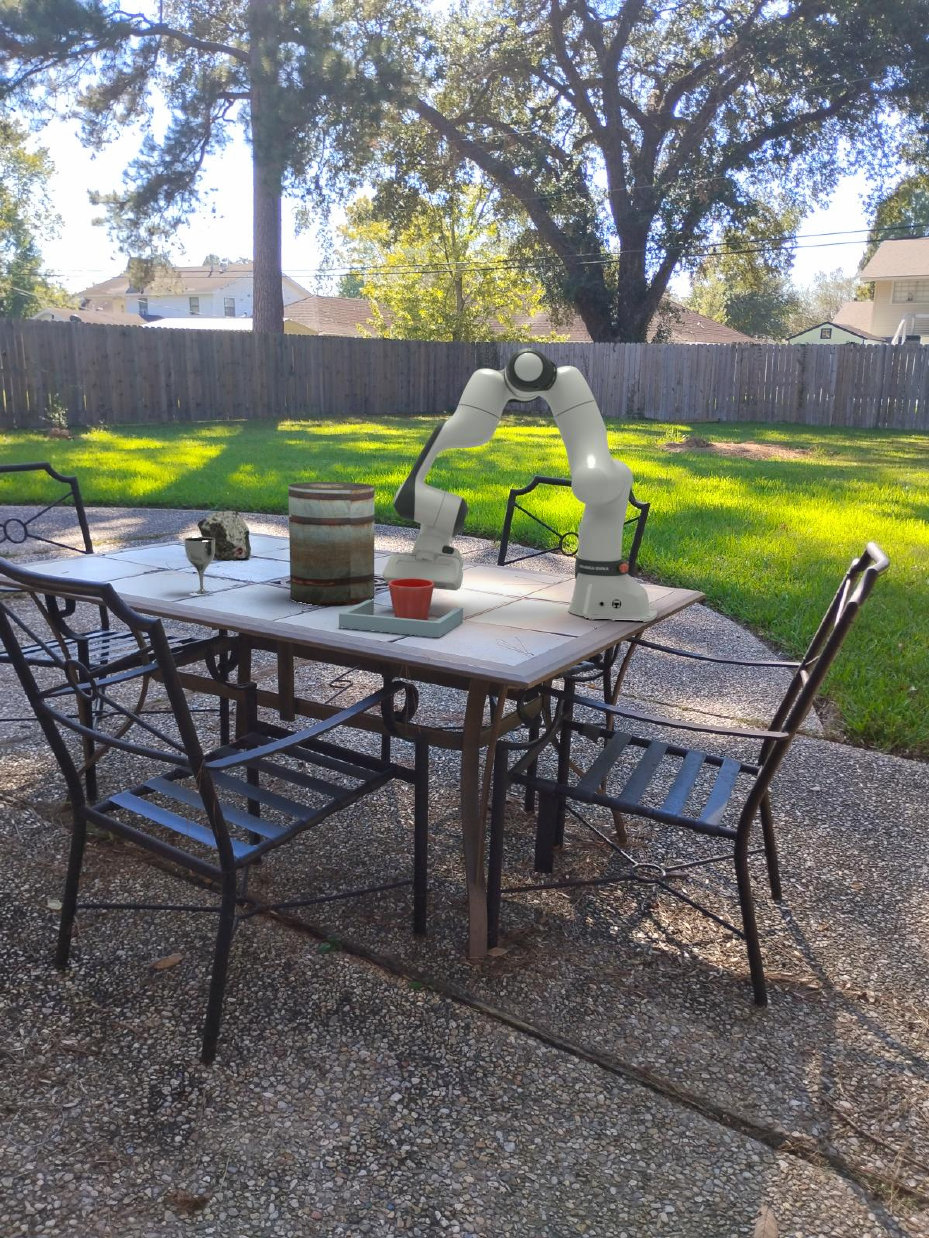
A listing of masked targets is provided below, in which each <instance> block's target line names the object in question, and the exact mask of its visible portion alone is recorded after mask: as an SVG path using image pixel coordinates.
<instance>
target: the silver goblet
mask: <svg viewBox="0 0 929 1238" xmlns="http://www.w3.org/2000/svg"><path fill="white" fill-rule="evenodd" d="M184 551H185V554H186V555H185V556H186V558H187V561H189V563H190V564H191V565H192V566H193V567H194V569H195V570H196V572H197V574H198V579H199V589H198V590H196V591H194V592H195V593H197V594H204V593H208V592H210V591H211V590H206V589H204V575H205V571H206V569H207V568H208V567H209V566H210V564H211V563H212V562H213V560H214V558H215V556H214V554H215V538H212V537H202V536H191V537H185V538H184Z"/></svg>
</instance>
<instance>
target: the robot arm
mask: <svg viewBox="0 0 929 1238" xmlns="http://www.w3.org/2000/svg"><path fill="white" fill-rule="evenodd" d="M539 397H541V398H542V399H543V400H544V401H546V403H547V404H548V406H549V407H550V411H551V413H552V416H553V418H554V421H555V423H556V426H557V429H558V432H559V434H560V437H561V439H562V442H563V445H564V448H565V451H566V455H567V461H568V466H569V471H570V476H571V490H572V491H571V492H572V493H573V495H574V497H575V498H576V499H577V500H578V501H579V502H580V503H582V504H584V505H585V506H584V510H583V514H582V518H581V521H580V523H579V526H578V538H577V539H578V540H577V556H576V557H575V562H574V578H575V581H574V583H575V584H574V590H573V593H572V598H571V601H570V605H569V607H568V612H569V613H571V614H573V615H576V616H579V617H582V616H584V617H586V618H592V619H591V620H594V619H640V621H643V622H642V623H645V622H646V623H647V622H651V621H653V620H655V619H656V618H658V617H657V616H658V611H657V609H655V608H654V607H650V601H649V596H648V591H647V590H646V588H644V586H642V585H641V584H640V583H639V582H637V581H636V580H635V579H634V578H633V577H632V576H631V575H629V566H630V565H629V563H630V562H629V561H628V560H627V561H626V560H624V559H623V558H622V545H623V531H624V530H623V529H624V524H625V518H626V515H627V511H628V505H629V500H630V499H629V498H630V492H631V488H632V486H633V482H634V476H633V472H632V470H631V467H629V466H628V465H627V464H626V463H625V462H623V461H621V460H619V459H616V458H612V457H611V452H610V448H609V444H608V443H609V442H608V430H607V426H606V424H605V422H604V419H603V417H602V414H601V412H600V409H599V407H598V403H597V401H596V399H595V397H594V394H593V392H592V390H591V388H590V386H589V384H588V382H587V381H586V378H585V377H584V376H583V374H582V372H581V371H580V370H579V369H578V368H577V367H576V366H572V365H563V366H560V367H558V366H557V364H556V363H555V362H554V361H552V360H551V359H550V358H549V357H547V355H545V354H544V353H542V352H541V351H540V350H538V349H536V348H532V347H523V348H520V349H518V350H516V351H515V352H513V353H512V354H511V355H510V356H509V358H508V360H507V362H506V366H505V367H504V369H501V370H495V369H493V368H492V369H491V368H479V369H477V370H476V371H474V372H473V374H472V375H471V377H470V379H469V380H468V382H467V384H466V386H465V387H464V390H463V392H462V394H461V397H460V400H459V402H458V405H457V407H456V410H455V411H454V413H453V415H452V416H451V417H450V418H449V419H448V420H445V421H440V422H439V423H438V424H437V426H435V428H434V429H433V431H432V433H431V435H430V436H429V438H428V440H427V441H426V443H425V445H424V446H423V448H422V450H421V452H420V454H419V455H418V457H417V458H416V461H415V462H414V465H413V466H412V468H411V470H410V473H408V476H407V477H406V478H405V480H404V481H403V482H402V484H400V486H399V487H398V490H396V493H395V495H394V499H393V508H394V510H395V513H396V514H397V515H398V517H399V518H400V519H402V520H406V521H411V522H416V523H419V524H420V527H419V534H418V536H417V537H416V539H415V543H414V545H413V549H412V552H407V551H406V552H403V551H396V552H394V553H392V554H390V555H389V558H388V561H387V563H386V565H385V567H384V570H383V573H382V578H383V580H384V581H385V583H386V584H387V585H389V582H390V581H393V580H397V579H408V578H412V579H424V580H429V581H432V582H433V583H434V588H433V590H444V591H445V590H446V591H448V590H449V591H458V590H459V589H461V586H462V583H463V578H464V571H463V567H464V560H463V557H462V554H461V553H460V550H459V548H456V547H454V546H450V543H451V541H452V539H453V538H455V537H457V536H458V535H459V534H461V533H462V531H463V529H464V525H465V522H466V518H467V516H468V513H469V507H468V504H467V502H466V500H465V499H464V497H462V496H460V495H457V494H455V493H452V492H449V491H446V490H442V489H440V488H437V487H434V486H433V485H432V486H431V485H429V484H427V483H425V478H426V477H427V475H428V473H429V471H430V469H431V468H432V466H433V463H434V462H435V461H436V459H437V457H438V455H439V454H440V453H442V452H443V451H445V450H449V449H467V448H468V449H471V448H478V447H481V446H483V445H486V444H487V443H488V442H489V441H491V440H492V438H493V437H494V435H495V433H496V430H497V428H498V426H499V423H500V420H501V418H502V415H503V411H504V408H505V407H506V404H507V403H517V404H518V403H520V404H525V403H531V402H534V401H536V400H537V399H539ZM584 617H583V618H584ZM586 618H585V619H586Z"/></svg>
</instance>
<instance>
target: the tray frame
mask: <svg viewBox="0 0 929 1238" xmlns="http://www.w3.org/2000/svg"><path fill="white" fill-rule="evenodd" d="M373 613H374V614H375V600H374V599H373V600H366V601H364V602H362V603H360V604H357V605H353V606H352V607H350V608H347V609H346V610H344V611H342V612H339V613H338V628H339V627H343V628H351V629H350V630H352V629H359V630H358V631H362V630H374V631H382V632H389V633H388V634H392V633H401V634H400V635H402V634H409V635H408V636H412V635H418V636H417V637H422V636H427V637H426V638H432V637H440V638H441V636H442V635H443V634H445V633H446V634H448V633H449V632H450V631H451V630H452V631H453V629H455V628H456V627H457V626H459V625H461V624H462V623H463V622H464V621H463V620H464V607H455V608H454V609H453V610H451V611H449V612H448V613H446V614H444V615H443V616H441V617H440V618H438V619H436V620H428V619H427V620H416V619H406V618H395V616H394V617H393V616H383V615H374V614H373ZM371 614H372V615H371ZM460 623H461V624H460ZM449 630H450V631H449ZM448 631H449V632H448ZM382 632H381V633H382ZM447 632H448V633H447ZM446 634H445V635H446ZM443 636H444V635H443ZM443 636H442V637H443Z"/></svg>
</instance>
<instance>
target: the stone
mask: <svg viewBox="0 0 929 1238" xmlns="http://www.w3.org/2000/svg"><path fill="white" fill-rule="evenodd" d="M197 527H198V529H199V533H200V534H201V537H212V538H215V554H214V557H215V556H216V559H217V558H218V560H219V561H221V560H226V561H230V560H233V561H232V562H234V561H237V560H241V559H246V558H250V557H251V556H252V555H251V552H252V547H251V544H250V542H251V541H250V529H249V527H248V525H247V523H246V522H245V521H244V519H243V518H242V516H241V515H240V513H239V511H236V510H225V511H222V510H221V511H215V512H213V513H211V514H210V515H209V516H206V517H205V518H204V519H202V520H200V521H198V522H197Z"/></svg>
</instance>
